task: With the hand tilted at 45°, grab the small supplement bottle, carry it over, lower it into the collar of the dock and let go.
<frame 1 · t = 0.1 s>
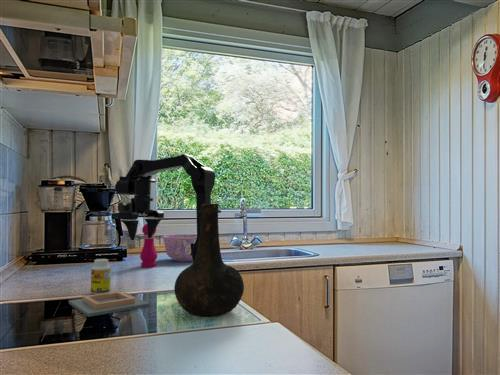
hand: (141, 239, 142), 15 cm above the table, tool pointing down, fingers open, 9 cm apart
dock: (108, 304, 108), on the table
pepper mill: (148, 267, 171), on the table
supplement bottle: (100, 294, 121), on the table
glass bottle: (209, 313, 102), on the table
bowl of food: (183, 260, 190), on the table
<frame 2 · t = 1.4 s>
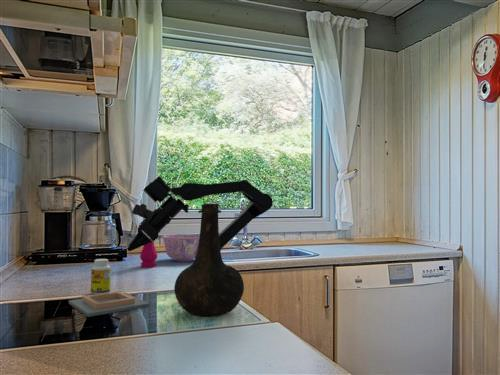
hand: (129, 248, 124), 13 cm above the table, tool tilted 45°, fingers open, 9 cm apart
nothing on the table moved.
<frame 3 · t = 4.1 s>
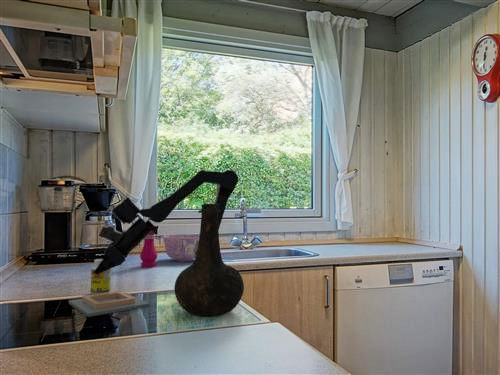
hand: (96, 271, 121), 7 cm above the table, tool tilted 45°, fingers closed on supplement bottle, 5 cm apart
supplement bottle: (100, 293, 121), on the table, touching gripper
everything else where it was.
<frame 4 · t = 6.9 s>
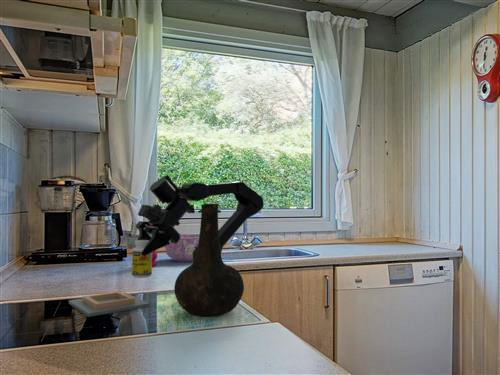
hand: (137, 253, 114), 13 cm above the table, tool tilted 45°, fingers closed on supplement bottle, 5 cm apart
supplement bottle: (141, 277, 115), point 6 cm above the table, touching gripper
everything else where it was.
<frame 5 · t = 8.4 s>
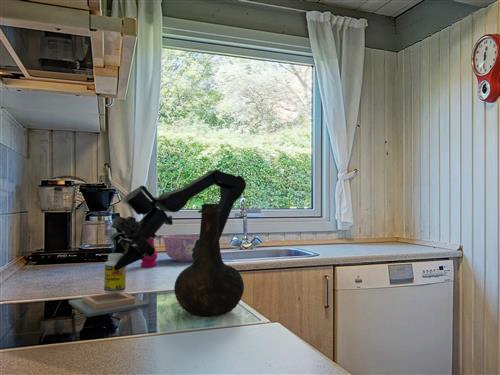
hand: (110, 267, 109), 10 cm above the table, tool tilted 45°, fingers closed on supplement bottle, 5 cm apart
supplement bottle: (114, 292, 109), point 3 cm above the table, touching gripper
everything else where it was.
when the fingers open (9 cm above the table, at t = 9.6 s): supplement bottle drops 2 cm, resting on dock.
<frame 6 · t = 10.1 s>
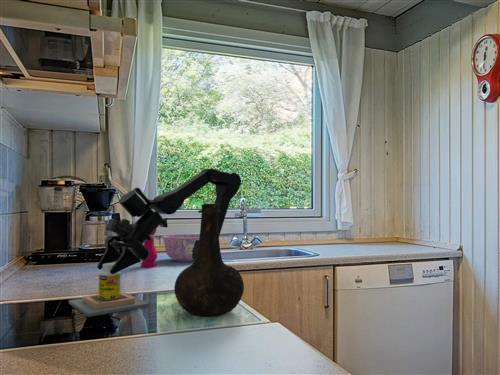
hand: (104, 270, 108), 9 cm above the table, tool tilted 45°, fingers open, 9 cm apart
supplement bottle: (109, 302, 108), point 1 cm above the table, touching dock
everything else where it was.
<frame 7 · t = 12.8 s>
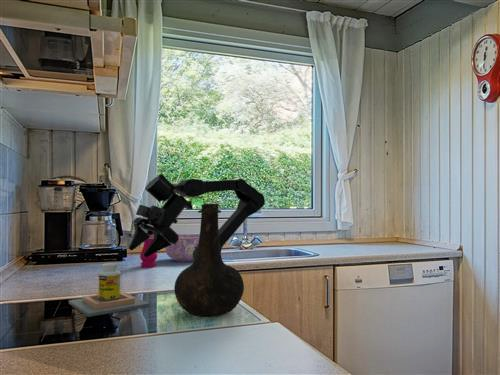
hand: (137, 252, 116), 13 cm above the table, tool tilted 40°, fingers open, 9 cm apart
nothing on the table moved.
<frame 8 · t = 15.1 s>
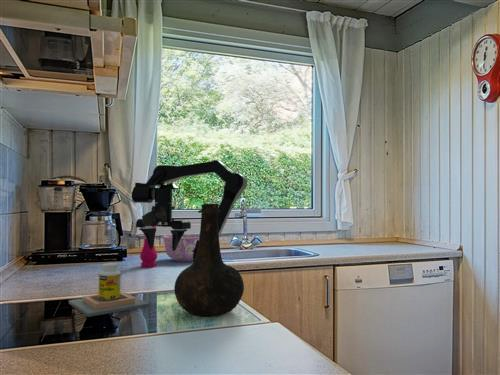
hand: (162, 249, 133), 12 cm above the table, tool pointing down, fingers open, 9 cm apart
nothing on the table moved.
at the end: supplement bottle 0.2 cm off-centre on the dock, point 0.6 cm above the dock's base; supplement bottle tilted 0°; the gripper is holding nothing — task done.
